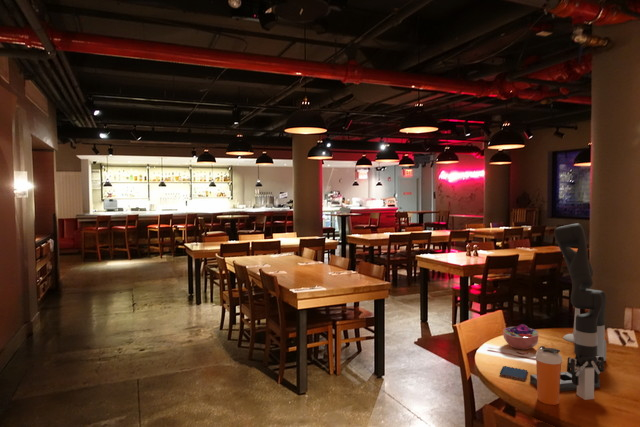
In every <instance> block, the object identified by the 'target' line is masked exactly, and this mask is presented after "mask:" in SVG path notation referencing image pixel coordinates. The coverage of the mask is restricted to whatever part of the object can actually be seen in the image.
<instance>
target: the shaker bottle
mask: <svg viewBox="0 0 640 427" xmlns="http://www.w3.org/2000/svg"><path fill="white" fill-rule="evenodd" d="M559 352H561V351H560V349H558V348H554V347H545V346H544V345H541V346H539V347H538V349H537V351H536V352H535V363H536V364H535V365H536V367H535V368H536V374H537V386H536V387H537V391H536V392H537V399H538V401H539V402H541V403H542V404H545V405H553V406H555V405H558V404H559V402H560V392H561V391H560V375H561V372H562V371H561V370H562V363H563V356H562V355H561V354H560V353H559Z"/></svg>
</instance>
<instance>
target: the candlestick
mask: <svg viewBox="0 0 640 427" xmlns="http://www.w3.org/2000/svg"><path fill="white" fill-rule="evenodd" d="M579 314H581V309H578V308H575V307H574V321H573V332H572V333H566V334H564V336H563V339H564V341H566V342H569V343H573V344H575V330H576V316H577V315H579Z"/></svg>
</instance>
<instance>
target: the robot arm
mask: <svg viewBox="0 0 640 427" xmlns="http://www.w3.org/2000/svg"><path fill="white" fill-rule="evenodd" d="M553 231H554V232H553V234H554V239H555V241H556V243H557V245H558V247H559V249H560V252H561V254H562V256H563V259H564V262H565V265H566V268H567V270H568V272H569V276H570V280H571V287H572V288H571V293H570V303H571V305H572V306H573V308H574V309H575V308H578V309H580V310H588V311H587V312H586V313H580V314H579V315H577V316H576V330H575V343H574V351H573V352H574V353H575V354H574V355H575V357H570V356H569V357H567V362H566V363H567V364H566V366H567V367H566V372H568V373H570V374H572V383H573V384H574V385H579V376H578V375H579V373H580V372H582V371H583V369H584V368H587V367H593V368H594V383H596V384H597V383H598V382H599V380H600V374H601V373H604V372H605V361H607V340H606V339H605V337H606V336H605V334H606V333H605V332H606V330H605V329H606V328H605V325H606V322H605V321H606V312H607V311H606V308H607V294H606V292H605V291H604V290H599V289H592V288H591V287H593V284H594V283H593V275H594V270H593V266H592V264H591V262H590V259H589V252H588V244H587V238H586V233H585V230H584V228H583V226H582V224H580V223H579V222H577V223H571V224H566V225H563V226H562V225H561V226H557V227H556V228H555V229H554V230H553ZM575 246H577V250H574V249H573V248H571V247H575ZM578 366H579V367H580V368H578Z"/></svg>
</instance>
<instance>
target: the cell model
mask: <svg viewBox="0 0 640 427" xmlns="http://www.w3.org/2000/svg"><path fill="white" fill-rule="evenodd" d="M502 332H503V333H502V335H503V339H504V341H505V342H506V344H508V345H509V346H511V347H512V348H513V349H518V350H528V349H531V348H534V347H536V346H537V344H538V342H539V331H538V330H537V329H534V328H531V327H528V325H526V324H524V323H521V324H518V325H517V326H514V325H513V326H507V327H504V328H503V330H502Z"/></svg>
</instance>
